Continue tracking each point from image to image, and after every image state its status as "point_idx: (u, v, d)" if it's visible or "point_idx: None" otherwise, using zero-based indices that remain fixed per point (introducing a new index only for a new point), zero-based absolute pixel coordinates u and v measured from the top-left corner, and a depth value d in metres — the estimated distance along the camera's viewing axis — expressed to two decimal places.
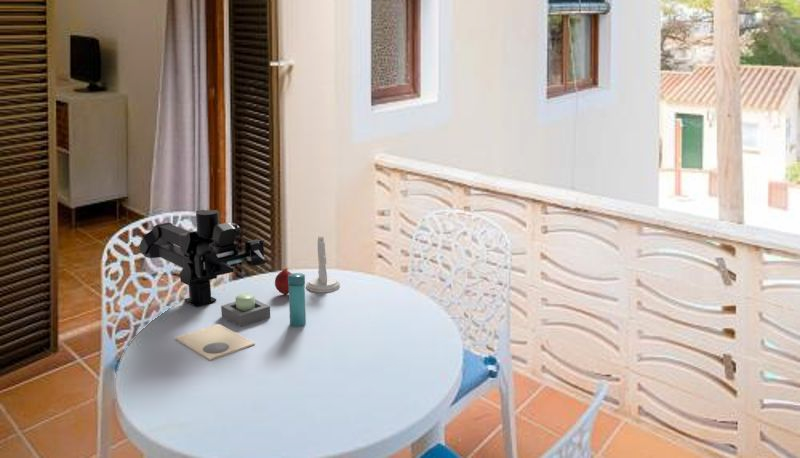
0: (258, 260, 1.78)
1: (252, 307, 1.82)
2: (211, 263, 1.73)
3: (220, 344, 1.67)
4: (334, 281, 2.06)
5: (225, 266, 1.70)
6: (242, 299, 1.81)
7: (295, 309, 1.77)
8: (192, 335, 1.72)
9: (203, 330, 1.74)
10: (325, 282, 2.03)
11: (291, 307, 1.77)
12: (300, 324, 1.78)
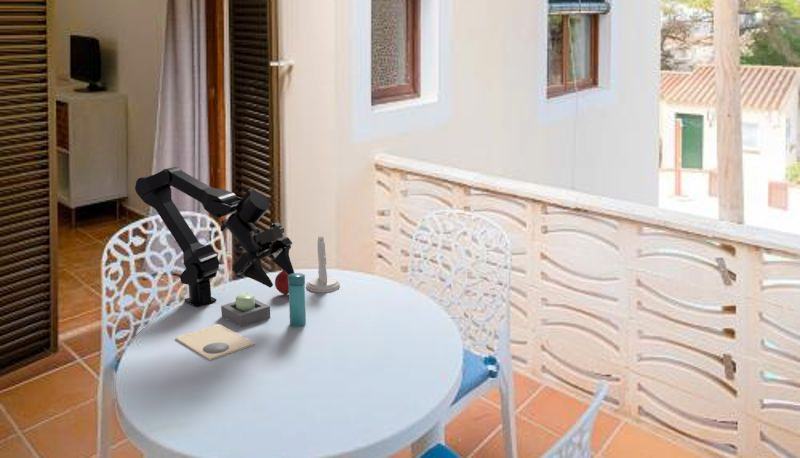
0: (286, 267, 1.84)
1: (252, 307, 1.82)
2: (252, 267, 1.74)
3: (220, 344, 1.67)
4: (334, 281, 2.06)
5: (266, 279, 1.75)
6: (242, 299, 1.81)
7: (295, 309, 1.77)
8: (192, 335, 1.72)
9: (203, 330, 1.74)
10: (325, 282, 2.03)
11: (291, 307, 1.77)
12: (300, 324, 1.78)
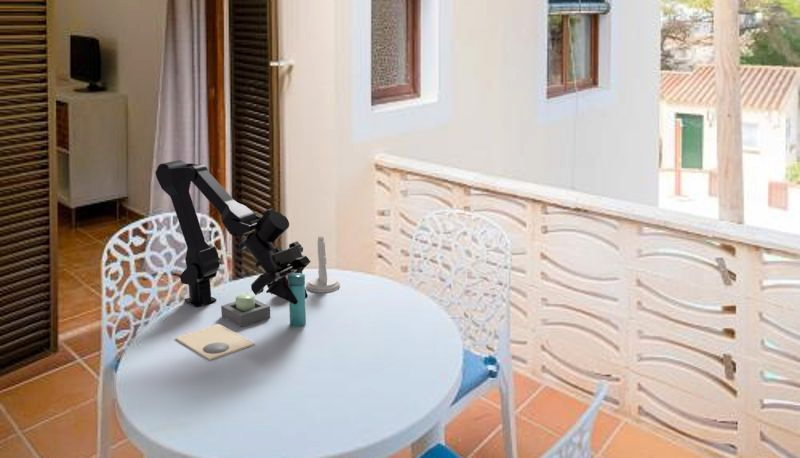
0: None
1: (252, 307, 1.82)
2: (277, 284, 1.75)
3: (220, 344, 1.67)
4: (334, 281, 2.06)
5: (291, 296, 1.75)
6: (242, 299, 1.81)
7: (295, 309, 1.77)
8: (192, 335, 1.72)
9: (203, 330, 1.74)
10: (325, 282, 2.03)
11: (291, 307, 1.77)
12: (300, 324, 1.78)
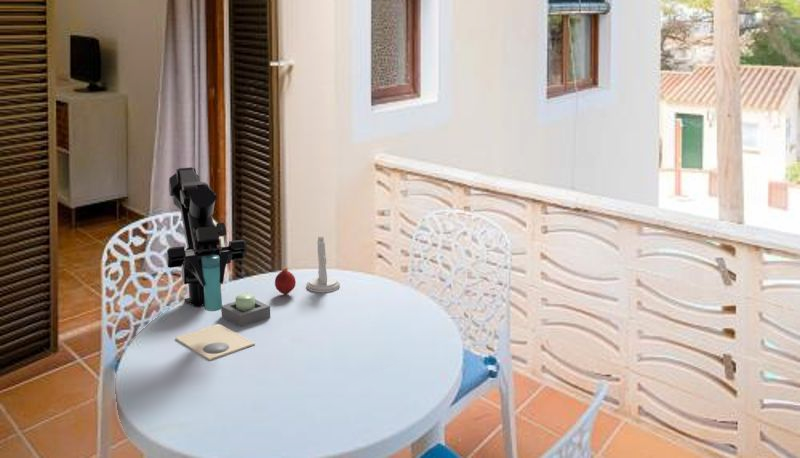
0: None
1: (252, 307, 1.82)
2: (191, 262, 1.70)
3: (220, 344, 1.67)
4: (334, 281, 2.06)
5: (199, 277, 1.68)
6: (242, 299, 1.81)
7: (205, 291, 1.69)
8: (192, 335, 1.72)
9: (203, 330, 1.74)
10: (325, 282, 2.03)
11: None
12: (210, 308, 1.70)
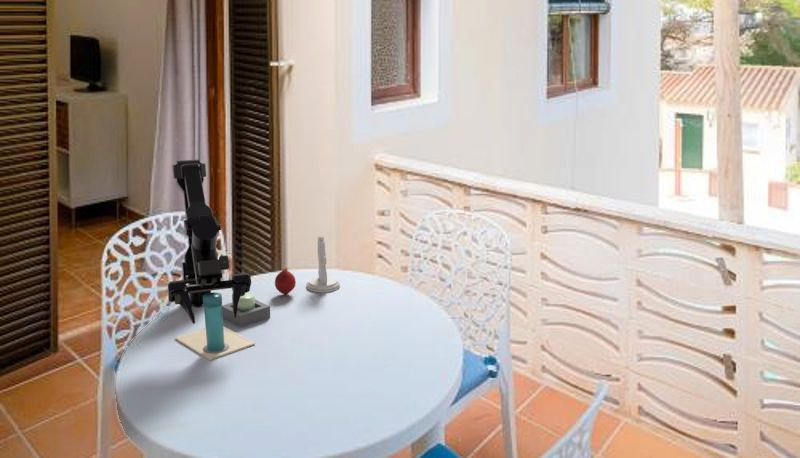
0: None
1: (252, 307, 1.82)
2: None
3: None
4: (334, 281, 2.06)
5: (189, 314, 1.60)
6: (242, 299, 1.81)
7: (206, 331, 1.63)
8: (192, 335, 1.72)
9: (203, 330, 1.74)
10: (325, 282, 2.03)
11: None
12: (212, 348, 1.63)
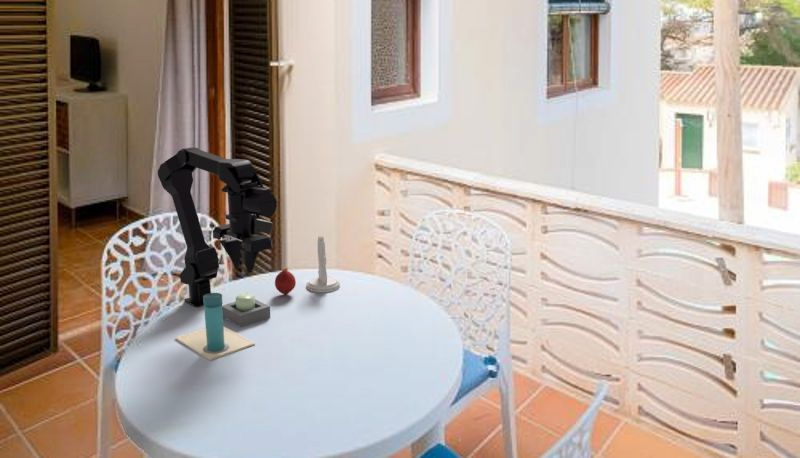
0: (235, 257, 1.82)
1: (252, 307, 1.82)
2: None
3: None
4: (334, 281, 2.06)
5: (253, 265, 1.78)
6: (242, 299, 1.81)
7: (206, 331, 1.63)
8: (192, 335, 1.72)
9: (203, 330, 1.74)
10: (325, 282, 2.03)
11: None
12: (212, 349, 1.63)
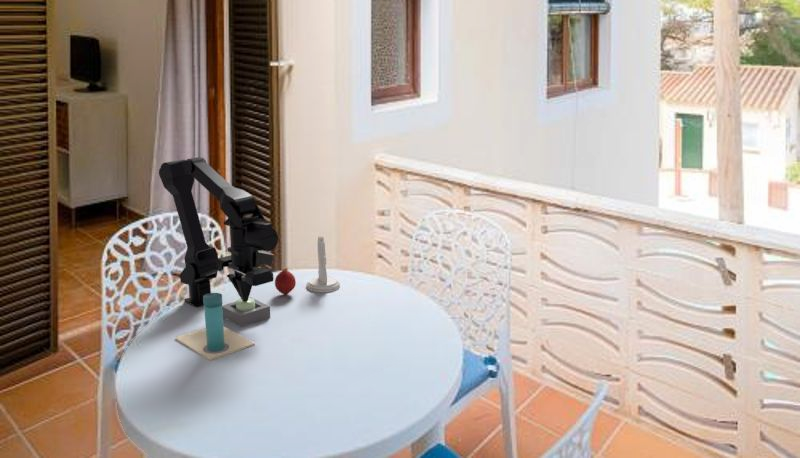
0: None
1: None
2: None
3: None
4: (334, 281, 2.06)
5: (248, 294, 1.82)
6: (243, 304, 1.81)
7: (206, 331, 1.63)
8: (192, 335, 1.72)
9: (203, 330, 1.74)
10: (325, 282, 2.03)
11: None
12: (212, 349, 1.63)
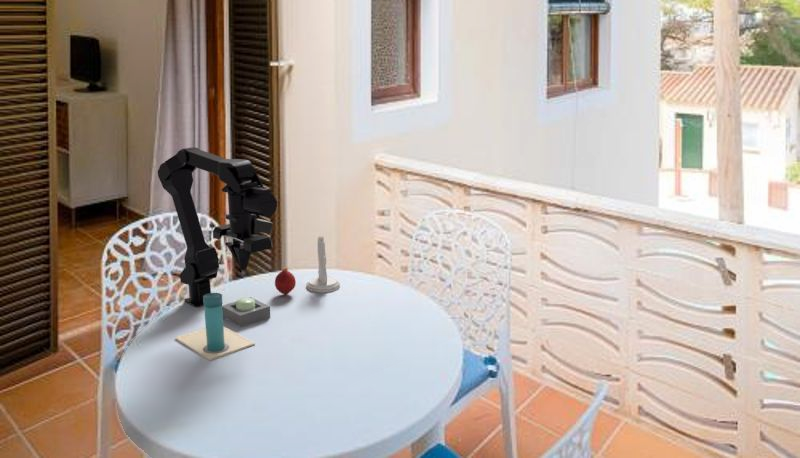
0: None
1: None
2: None
3: None
4: (334, 281, 2.06)
5: (247, 262, 1.80)
6: (243, 304, 1.81)
7: (206, 331, 1.63)
8: (192, 335, 1.72)
9: (203, 330, 1.74)
10: (325, 282, 2.03)
11: None
12: (212, 349, 1.63)
